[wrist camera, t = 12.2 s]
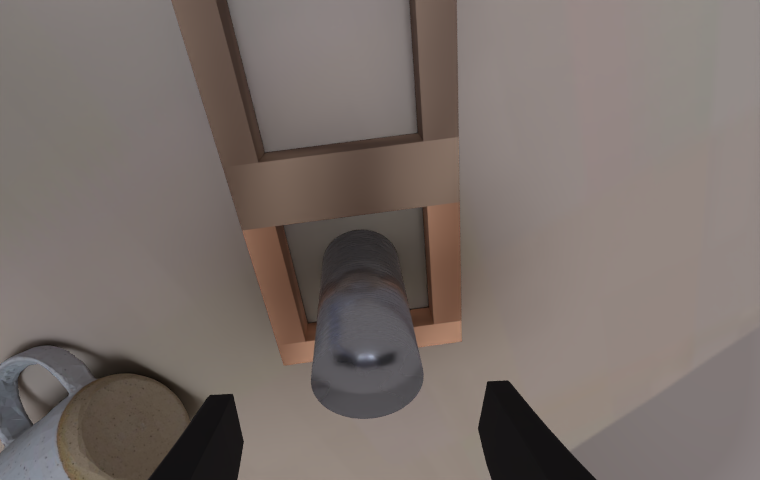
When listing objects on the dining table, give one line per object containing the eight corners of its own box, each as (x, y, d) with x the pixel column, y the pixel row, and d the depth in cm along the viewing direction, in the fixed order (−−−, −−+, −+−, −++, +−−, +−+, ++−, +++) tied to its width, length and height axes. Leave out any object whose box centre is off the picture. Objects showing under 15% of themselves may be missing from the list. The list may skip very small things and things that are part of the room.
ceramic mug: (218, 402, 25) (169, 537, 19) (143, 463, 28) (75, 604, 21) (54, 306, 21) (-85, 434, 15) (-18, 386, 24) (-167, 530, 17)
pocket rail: (287, 346, 24) (284, 365, 22) (162, -79, 14) (143, -90, 13) (455, 324, 24) (461, 341, 22) (444, -112, 14) (454, -127, 13)
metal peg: (323, 293, 22) (311, 419, 15) (322, 228, 20) (309, 338, 13) (395, 294, 22) (417, 417, 15) (401, 230, 21) (429, 337, 14)
